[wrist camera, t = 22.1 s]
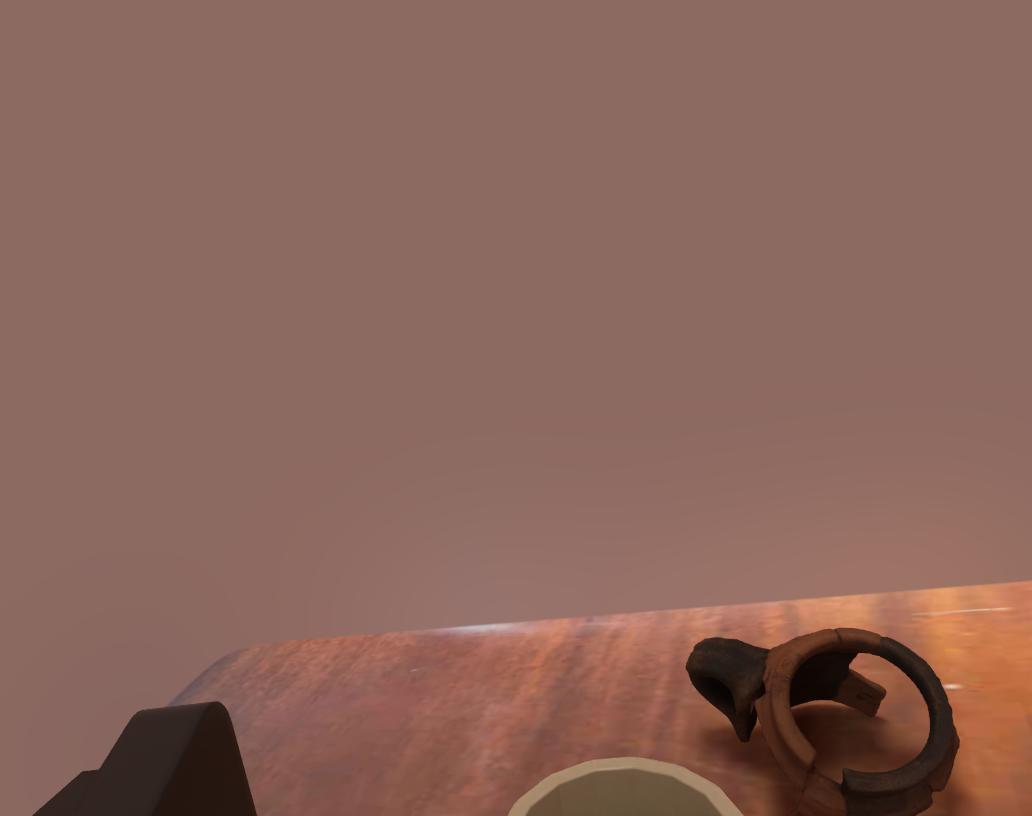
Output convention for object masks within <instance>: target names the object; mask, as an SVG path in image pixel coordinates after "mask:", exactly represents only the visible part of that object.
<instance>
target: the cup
mask: <svg viewBox="0 0 1032 816" xmlns="http://www.w3.org/2000/svg"><path fill="white" fill-rule="evenodd" d="M507 816H744V815H743V814H742V813H741V812H740V810H739V809H738V808H737V807H736V806H735V805H734V804H733V802H732V801H731V800H730V799H729V798H728V797H727V796H726V794H725V793H724V792H723V791H722V790H721V789H720V788H719V787H718V786H717V785H716V784H714V783H712V782H710V781H708V780H707V779H705V778H703V777H701V776H699V775H697V774H695V773H693V772H692V771H690V770H688V769H686V768H684V767H682V766H679V765H677V764H672V763H667V762H662V761H657V760H652V759H646V758H641V757H633V756H632V757H620V758H608V759H595V760H591V761H586V762H583V763H580V764H578V765H575V766H572V767H570V768H567V769H564V770H562V771H559V772H556V773H554V774H551V775H550V776H547V777H546V778H545V779H544V780H542V781H541V782H540V783H538V784H537V785H536V786H535V787H533V788H532V789H531V790H529V791H528V792H527V793H526V794H524V795H523V796H522V797H521V798H519V799H518V800H517V802H515V803H514V805H513V807H512V809H511V810H510V812H509V814H508V815H507Z"/></svg>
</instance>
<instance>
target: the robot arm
mask: <svg viewBox="0 0 1032 816" xmlns="http://www.w3.org/2000/svg"><path fill="white" fill-rule="evenodd" d="M33 816H257V814H256V810H255V806H254V803H253V799H252V795H251V792H250V788H249V784H248V780H247V777H246V773H245V769H244V766H243V762H242V758H241V754H240V751H239V747H238V743H237V740H236V736H235V732H234V728H233V725H232V721H231V718H230V716H229V713H228V711H227V709H226V708H225V706H224V705H223V704H221V703H220V702H207V703H198V704H190V705H181V706H173V707H164V708H156V709H147V710H141V711H139V712H137V713H136V714H135V715H134V716H133V717H132V718H131V720H130V721H129V723H128V724H127V726H126V727H125V729H124V731H123V732H122V734H121V735H120V737H119V739H118V740H117V742H116V744H115V745H114V747H113V748H112V750H111V752H110V753H109V755H108V756H107V758H106V760H105V761H104V763H103V764H102V766H101V768H100V769H99V770H92V771H83V772H81V773H80V774H79V775H78V776H77V777H76V778H74V779H73V780H72V781H71V782H70V783H69V784H68V785H67V786H65V787H64V788H63V789H62V790H61V791H60V792H59V793H57V794H56V795H55V796H54V797H53V798H52V799H51V800H49V801H48V802H47V803H46V804H45V805H44V806H43V807H42V808H40V809H39V810H38V811H37V812H36V813H35V814H34V815H33Z"/></svg>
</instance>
